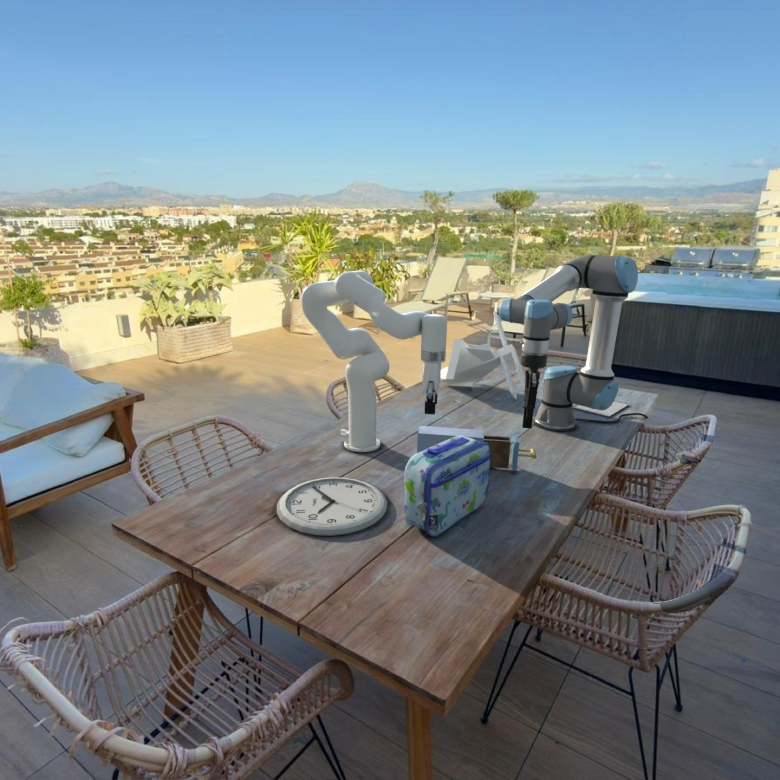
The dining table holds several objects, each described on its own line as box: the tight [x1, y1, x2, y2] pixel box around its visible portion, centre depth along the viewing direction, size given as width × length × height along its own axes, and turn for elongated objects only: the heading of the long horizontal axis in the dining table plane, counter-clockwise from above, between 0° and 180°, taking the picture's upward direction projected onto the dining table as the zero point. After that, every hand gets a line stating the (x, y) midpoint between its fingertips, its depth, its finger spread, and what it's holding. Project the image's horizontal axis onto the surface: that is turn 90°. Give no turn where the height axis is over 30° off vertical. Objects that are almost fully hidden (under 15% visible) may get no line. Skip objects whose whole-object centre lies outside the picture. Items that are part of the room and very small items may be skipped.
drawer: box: [484, 434, 538, 472], centre depth 165 cm, size 25×5×10 cm, turn 82°
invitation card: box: [573, 401, 629, 418], centre depth 226 cm, size 21×1×15 cm
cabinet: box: [416, 425, 485, 454], centre depth 167 cm, size 20×7×11 cm, turn 82°
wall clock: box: [276, 476, 388, 537], centre depth 142 cm, size 30×2×30 cm
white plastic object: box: [440, 310, 525, 400], centre depth 245 cm, size 37×45×31 cm
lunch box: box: [403, 435, 491, 538], centre depth 134 cm, size 26×11×21 cm, turn 134°
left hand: (430, 408), depth 164 cm, fingers open, 9 cm apart
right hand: (526, 427), depth 161 cm, fingers closed
